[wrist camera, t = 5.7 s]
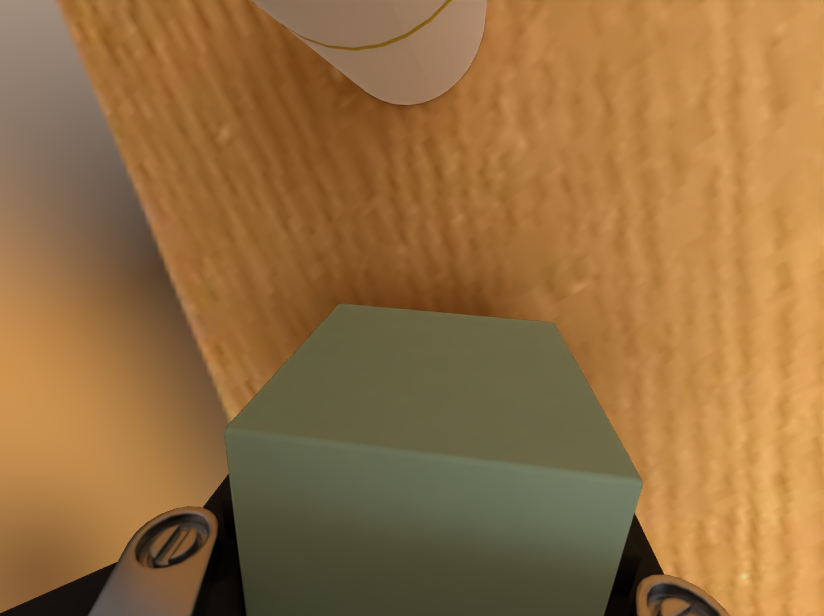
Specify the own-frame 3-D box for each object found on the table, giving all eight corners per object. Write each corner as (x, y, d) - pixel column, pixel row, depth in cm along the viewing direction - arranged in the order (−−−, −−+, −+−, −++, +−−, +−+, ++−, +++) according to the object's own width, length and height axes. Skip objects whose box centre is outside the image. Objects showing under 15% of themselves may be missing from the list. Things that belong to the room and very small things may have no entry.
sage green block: (514, 552, 12) (546, 816, 7) (340, 527, 12) (261, 757, 7) (555, 321, 9) (646, 482, 5) (338, 301, 10) (221, 429, 5)
